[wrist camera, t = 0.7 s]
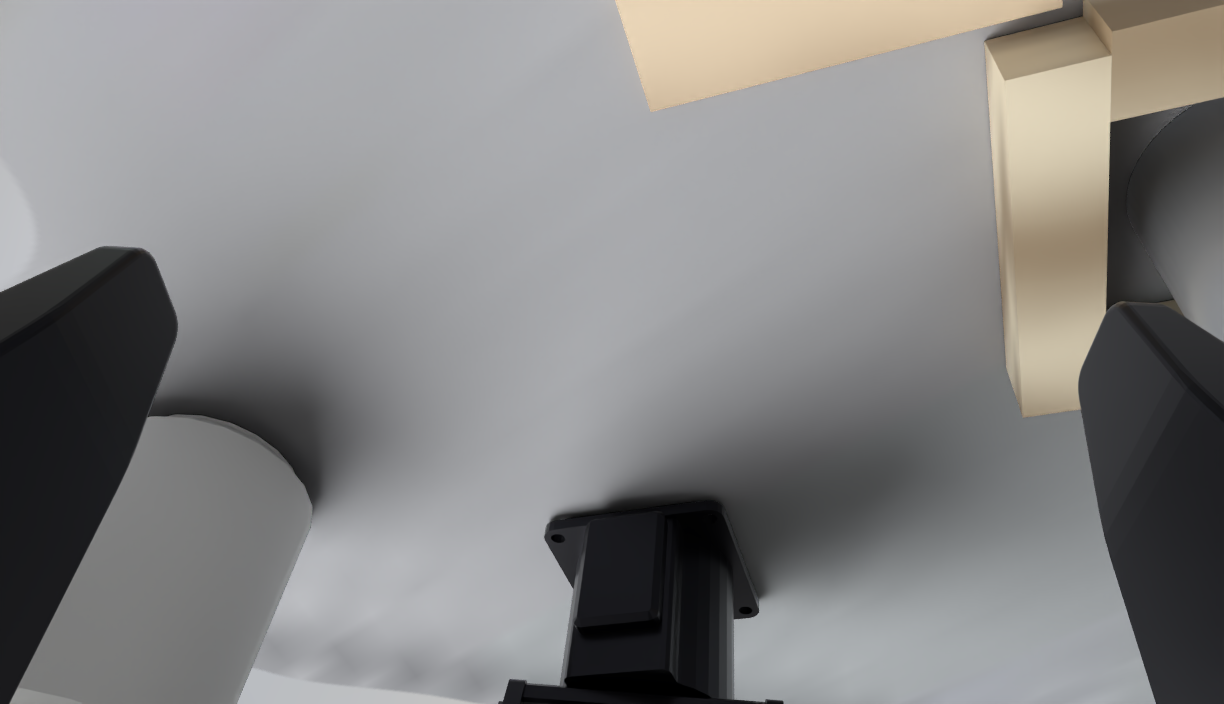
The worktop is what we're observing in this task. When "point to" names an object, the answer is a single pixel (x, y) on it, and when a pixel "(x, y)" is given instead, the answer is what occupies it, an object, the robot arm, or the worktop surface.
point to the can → (177, 573)
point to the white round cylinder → (1185, 211)
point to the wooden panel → (784, 37)
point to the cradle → (1077, 166)
